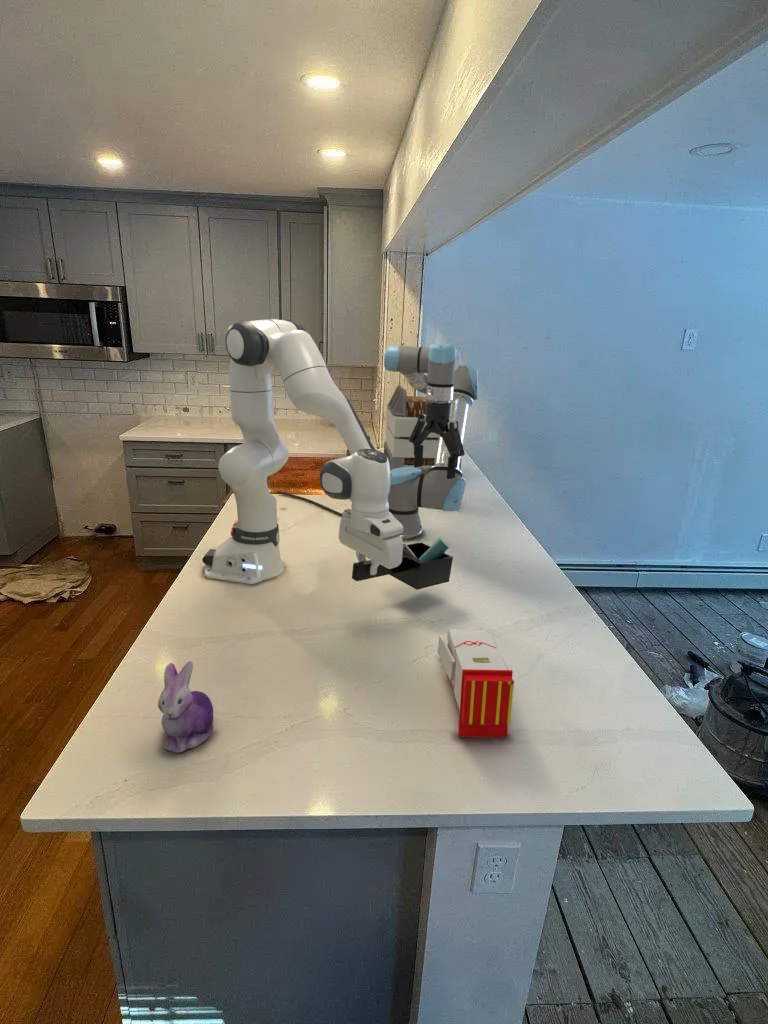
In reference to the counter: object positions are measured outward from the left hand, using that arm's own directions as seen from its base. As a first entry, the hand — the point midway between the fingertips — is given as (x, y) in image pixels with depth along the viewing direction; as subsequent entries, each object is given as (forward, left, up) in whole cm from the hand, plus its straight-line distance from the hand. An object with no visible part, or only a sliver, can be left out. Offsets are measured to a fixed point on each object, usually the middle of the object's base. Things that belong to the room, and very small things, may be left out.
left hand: (367, 571), depth 139 cm
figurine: (-30, -43, -14) cm, 54 cm away
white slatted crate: (+19, +140, -14) cm, 142 cm away
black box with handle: (+7, +6, -6) cm, 11 cm away
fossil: (-14, +172, -14) cm, 173 cm away
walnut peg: (+13, +12, -5) cm, 19 cm away
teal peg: (+14, +12, -3) cm, 19 cm away
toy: (+23, -26, -14) cm, 38 cm away
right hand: (+17, +37, +15) cm, 44 cm away
